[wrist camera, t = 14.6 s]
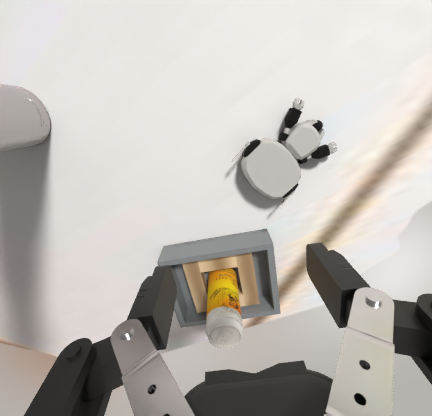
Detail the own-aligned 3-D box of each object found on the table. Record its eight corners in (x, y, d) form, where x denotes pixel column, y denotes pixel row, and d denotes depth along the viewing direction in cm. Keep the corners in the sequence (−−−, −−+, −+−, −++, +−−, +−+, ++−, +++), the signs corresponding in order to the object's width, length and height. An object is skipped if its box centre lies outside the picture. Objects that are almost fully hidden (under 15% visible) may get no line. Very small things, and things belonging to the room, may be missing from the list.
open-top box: (184, 307, 54) (181, 327, 49) (163, 246, 47) (157, 262, 42) (274, 294, 53) (280, 313, 48) (266, 228, 46) (273, 243, 41)
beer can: (241, 270, 49) (251, 332, 35) (227, 288, 51) (231, 354, 37) (216, 258, 47) (217, 318, 34) (203, 278, 49) (198, 342, 36)
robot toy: (291, 94, 37) (226, 159, 40) (302, 90, 33) (229, 163, 36) (332, 147, 40) (270, 204, 43) (347, 150, 36) (277, 212, 39)
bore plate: (198, 302, 52) (197, 312, 50) (183, 253, 47) (181, 262, 44) (257, 293, 51) (259, 303, 49) (249, 242, 46) (251, 251, 43)
